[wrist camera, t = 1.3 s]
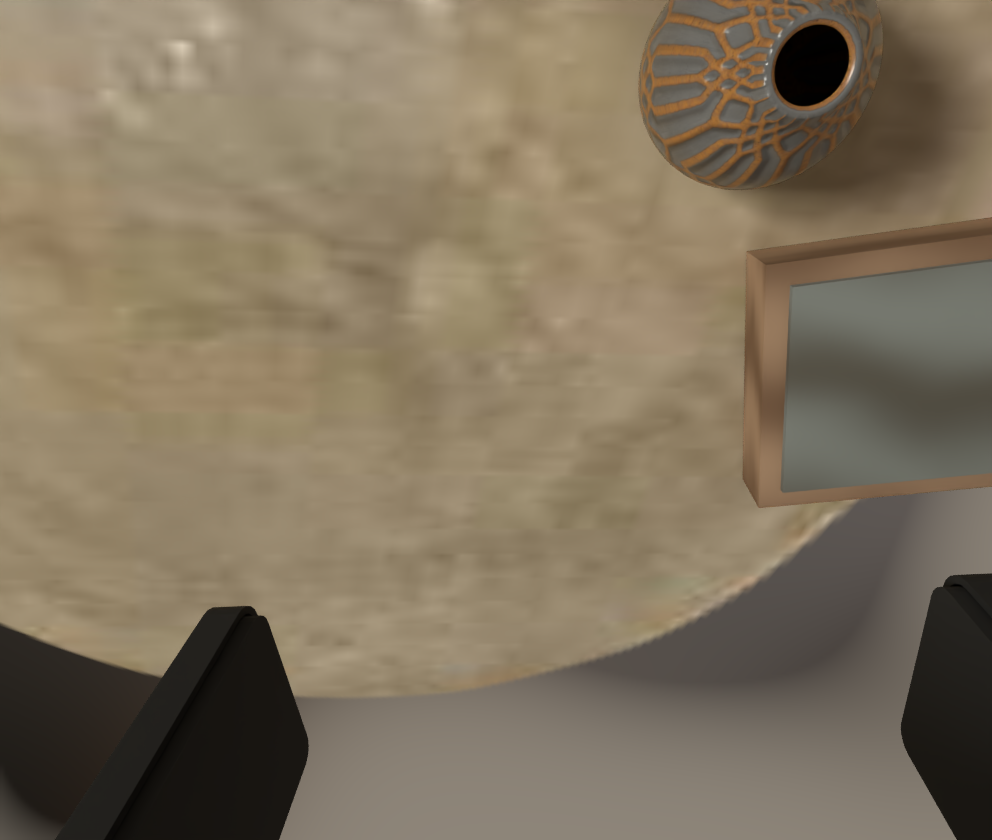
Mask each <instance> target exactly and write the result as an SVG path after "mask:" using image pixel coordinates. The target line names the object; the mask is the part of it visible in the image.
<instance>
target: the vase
mask: <svg viewBox="0 0 992 840" xmlns="http://www.w3.org/2000/svg"><path fill="white" fill-rule="evenodd" d="M882 52H883V30H882V22H881V17H880V12H879V9H878V5H877V2H876V0H669V1H668V2H667V4H666V5H665V7H664V8H663V10H662V11H661V13H660V15H659V16H658V18H657V20H656V22H655V24H654V26H653V28H652V30H651V32H650V35H649V37H648V40H647V42H646V45H645V48H644V52H643V56H642V60H641V65H640V72H639V102H640V109H641V113H642V117H643V121H644V124H645V127H646V129H647V132H648V134H649V136H650V138H651V140H652V141H653V143H654V145H655V146H656V148H657V149H658V150H659V152H660V153H661V154H662V156H663V157H664V158H665V159H666V160H667V161H668V162H669V163H670V164H671V165H672V166H673V167H675V168H676V169H677V170H678V171H680V172H681V173H683V174H684V175H686V176H687V177H689V178H691V179H693V180H695V181H697V182H699V183H702V184H705V185H708V186H712V187H716V188H721V189H728V190H748V189H757V188H763V187H767V186H771V185H774V184H777V183H780V182H783V181H785V180H788V179H790V178H792V177H794V176H796V175H798V174H800V173H802V172H804V171H805V170H807V169H809V168H810V167H812V166H813V165H815V164H816V163H818V162H819V161H821V160H822V159H823V158H824V157H826V156H827V155H828V154H829V153H830V152H831V151H833V150H834V149H835V148H836V147H837V146H838V145H839V144H840V143H841V142H842V141H843V139H844V138H845V137H846V136H847V135H848V134H849V132H850V131H851V130H852V129H853V127H854V126H855V124H856V123H857V121H858V120H859V118H860V117H861V115H862V113H863V112H864V110H865V108H866V106H867V104H868V102H869V100H870V98H871V95H872V93H873V90H874V88H875V85H876V82H877V79H878V75H879V71H880V67H881V61H882Z"/></svg>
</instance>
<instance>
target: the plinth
mask: <svg viewBox="0 0 992 840" xmlns="http://www.w3.org/2000/svg"><path fill="white" fill-rule="evenodd" d="M743 480H744V482H745V484H746V486H747V487H748V489H749V491H750V493H751V495H752V496H753V498H754V500H755V502H756V504H757V506H758V507H759V508H765V507H776V506H787V505H798V504H808V503H819V502H830V501H841V500H852V499H863V498H873V497H884V496H895V495H906V494H917V493H928V492H938V491H948V490H960V489H971V488H982V487H992V218H985V219H978V220H971V221H963V222H956V223H949V224H942V225H934V226H927V227H920V228H913V229H905V230H898V231H891V232H884V233H876V234H869V235H862V236H855V237H847V238H840V239H833V240H826V241H818V242H811V243H804V244H797V245H789V246H782V247H775V248H768V249H760V250H753V251H747V260H746V319H745V379H744V438H743Z"/></svg>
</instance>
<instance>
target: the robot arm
mask: <svg viewBox="0 0 992 840" xmlns="http://www.w3.org/2000/svg"><path fill="white" fill-rule="evenodd" d="M901 735H902V739H903V743H904V746H905V748H906V751H907V753H908V755H909V757H910V758H911V760H912V762H913V764H914V765H915V767H916V769H917V771H918V772H919V774H920V776H921V778H922V779H923V781H924V783H925V785H926V786H927V788H928V790H929V792H930V794H931V795H932V797H933V799H934V800H935V802H936V804H937V806H938V808H939V809H940V811H941V813H942V814H943V816H944V818H945V820H946V821H947V823H948V825H949V827H950V829H951V830H952V832H953V834H954V836H955V837H956V839H957V840H992V574H971V575H953V576H950V577H948V578H947V579H946V581H945V583H944V585H943V587H937V588H936V589H935V590H934V591H933V593H932V596H931V600H930V604H929V608H928V612H927V617H926V621H925V625H924V629H923V634H922V638H921V642H920V647H919V650H918V655H917V659H916V663H915V667H914V671H913V676H912V680H911V684H910V688H909V693H908V697H907V701H906V705H905V709H904V714H903V718H902V722H901ZM308 747H309V746H308V737H307V734H306V731H305V728H304V725H303V722H302V719H301V716H300V713H299V710H298V707H297V705H296V702H295V699H294V696H293V693H292V690H291V687H290V684H289V681H288V678H287V676H286V673H285V670H284V667H283V664H282V661H281V658H280V655H279V652H278V649H277V646H276V644H275V641H274V638H273V635H272V632H271V629H270V626H269V623H268V621H267V619H266V618H265V617H264V616H258V615H257V613H256V611H255V609H254V608H252V607H251V606H237V607H214V608H211V609H209V610H208V611H207V612H206V613H205V614H204V615H203V617H202V618H201V620H200V621H199V623H198V624H197V626H196V627H195V629H194V630H193V632H192V633H191V635H190V636H189V638H188V639H187V641H186V643H185V644H184V646H183V647H182V649H181V650H180V652H179V653H178V655H177V656H176V658H175V659H174V661H173V662H172V664H171V665H170V667H169V668H168V670H167V671H166V673H165V674H164V676H163V677H162V679H161V680H160V682H159V683H158V685H157V686H156V688H155V689H154V691H153V693H152V694H151V695H150V697H149V698H148V700H147V702H146V703H145V705H144V706H143V708H142V709H141V711H140V712H139V714H138V715H137V717H136V718H135V720H134V721H133V723H132V724H131V726H130V727H129V729H128V730H127V732H126V733H125V735H124V737H123V738H122V739H121V741H120V742H119V744H118V745H117V747H116V748H115V750H114V752H113V753H112V754H111V756H110V757H109V759H108V760H107V762H106V763H105V765H104V767H103V768H102V769H101V771H100V773H99V774H98V776H97V777H96V779H95V780H94V782H93V783H92V785H91V786H90V788H89V789H88V791H87V792H86V794H85V795H84V797H83V798H82V800H81V802H80V803H79V804H78V806H77V807H76V809H75V810H74V812H73V813H72V815H71V816H70V818H69V819H68V821H67V822H66V824H65V825H64V827H63V829H62V830H61V831H60V833H59V835H58V836H57V838H56V839H55V840H279V838H280V835H281V832H282V830H283V827H284V824H285V821H286V819H287V816H288V813H289V810H290V807H291V804H292V802H293V799H294V796H295V793H296V790H297V788H298V785H299V782H300V779H301V776H302V774H303V770H304V768H305V765H306V761H307V757H308Z"/></svg>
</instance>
